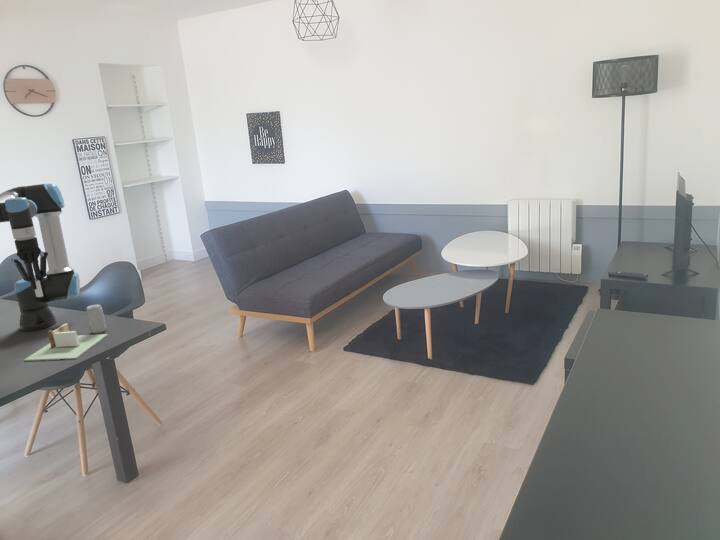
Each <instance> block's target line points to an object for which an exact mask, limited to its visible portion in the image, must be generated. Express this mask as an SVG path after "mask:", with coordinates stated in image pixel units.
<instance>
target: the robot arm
mask: <svg viewBox="0 0 720 540" xmlns="http://www.w3.org/2000/svg"><path fill="white" fill-rule="evenodd" d="M64 201H65V200H64V197H63V195H62V192H61V189H60V188H59V187H58V185H57V184H55V183H42V184H41V183H40V184H33V185H27V186H26V185H23V186H17V187H14V188H11V189H8V190H5V191H3V192H1V193H0V223H7V222H9V225H10V228H11V233H12V236H13V239H14V245H15V248H16V256H15V257H14V258H12V259H11V262H12V263H13V264H14V266H16V268H17V270H18V272H19V273H20V275H21V277H22V279H19V280H17V281H16V282H15V283H14V285H13V287H14V288H13V289H14V293H15V297H16V300H17V303H18V309H19V311H20V317H19V329H20V331H22V332H32V331H38V330H43V329H46V328H49V327H51V326H53V325H55V324H56V323H57V322H58V321H57V318H56V316H55V314H54V313H53V311H52V309H51V308H50V306H49V303H51V302H58V301H63V300H69V299H74V298H77V297H79V294H80V290H81V289H80V287H81V280H80V275H79V273H78V272H75V270H74V268H72V267H71V266H70V264H69V263H70V262H69V259H68V253H67V248H66V244H65V239H64V234H63V229H62V225H61V224H62V223H61V220H60V215H61V214H62V213H63V210H62V209H64V208H65V202H64ZM34 217H35V218H37V219H38V220H37V221H38V225H39V229H40V234H41V238H42V242H43V243H42V244H43V249H44V251H43V250H41V248H40V247H39V242H38V238H37V237H36V236H37V233H36V230H35V226H34V223H33V218H34ZM21 261H23V264H24V265H25V268H24V265H23V264H22V263H21ZM47 266H48V267H47ZM47 268H48V269H47Z"/></svg>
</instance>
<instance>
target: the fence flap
mask: <svg viewBox="0 0 720 540" xmlns="http://www.w3.org/2000/svg"><path fill="white" fill-rule="evenodd" d="M77 335H78V333H77V331H76V330H72V331H70V332H58V333H53V336H54V340H55V344H56V346H68V345H74V346H78V345H79V344H80V343H79V342H78V338H77Z"/></svg>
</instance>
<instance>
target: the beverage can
mask: <svg viewBox="0 0 720 540" xmlns="http://www.w3.org/2000/svg"><path fill="white" fill-rule="evenodd" d="M85 312H86V316H87V320H88V325H89V329H90V332H91V334H93V335H99V334H103V333H104V332H105V331H107V324H106V320H105V315H104V310H103V307H102V306H101V304H100V303H99V304H91V305H89V306H86V311H85Z"/></svg>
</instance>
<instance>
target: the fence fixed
mask: <svg viewBox="0 0 720 540" xmlns="http://www.w3.org/2000/svg"><path fill="white" fill-rule="evenodd" d="M58 332H70V327H69V323H65V322H64V324H62V325H60V326H59V327H57V328H55V329H54V330H52V329H50V330H49V329H48V330H47V336H48V340H49V343H50V344H51V348H55V347H56V346H55V345H56V344H55V340H54V336H53V333H58Z"/></svg>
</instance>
